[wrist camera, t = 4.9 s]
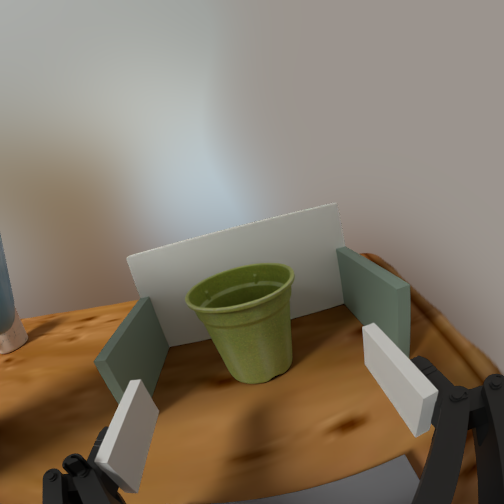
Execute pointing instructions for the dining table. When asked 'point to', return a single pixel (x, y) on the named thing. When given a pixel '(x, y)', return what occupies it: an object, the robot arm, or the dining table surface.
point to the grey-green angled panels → (239, 254)
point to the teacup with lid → (13, 336)
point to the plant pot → (248, 318)
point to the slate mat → (357, 488)
